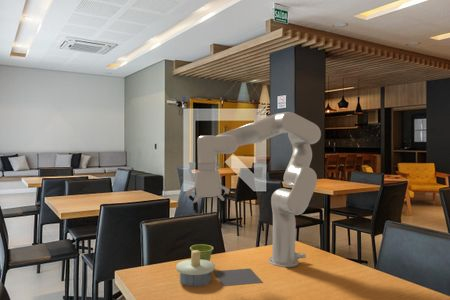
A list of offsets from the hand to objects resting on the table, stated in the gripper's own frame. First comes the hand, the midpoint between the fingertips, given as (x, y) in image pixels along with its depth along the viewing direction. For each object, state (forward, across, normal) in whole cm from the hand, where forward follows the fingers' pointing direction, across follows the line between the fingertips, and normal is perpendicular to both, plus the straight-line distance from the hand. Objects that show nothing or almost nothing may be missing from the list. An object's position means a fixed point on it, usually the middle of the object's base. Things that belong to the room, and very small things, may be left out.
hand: (208, 211), depth 139 cm
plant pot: (+24, +2, -5) cm, 25 cm away
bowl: (+24, +7, +7) cm, 26 cm away
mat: (+24, -9, +8) cm, 27 cm away
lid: (+19, +7, +7) cm, 21 cm away
